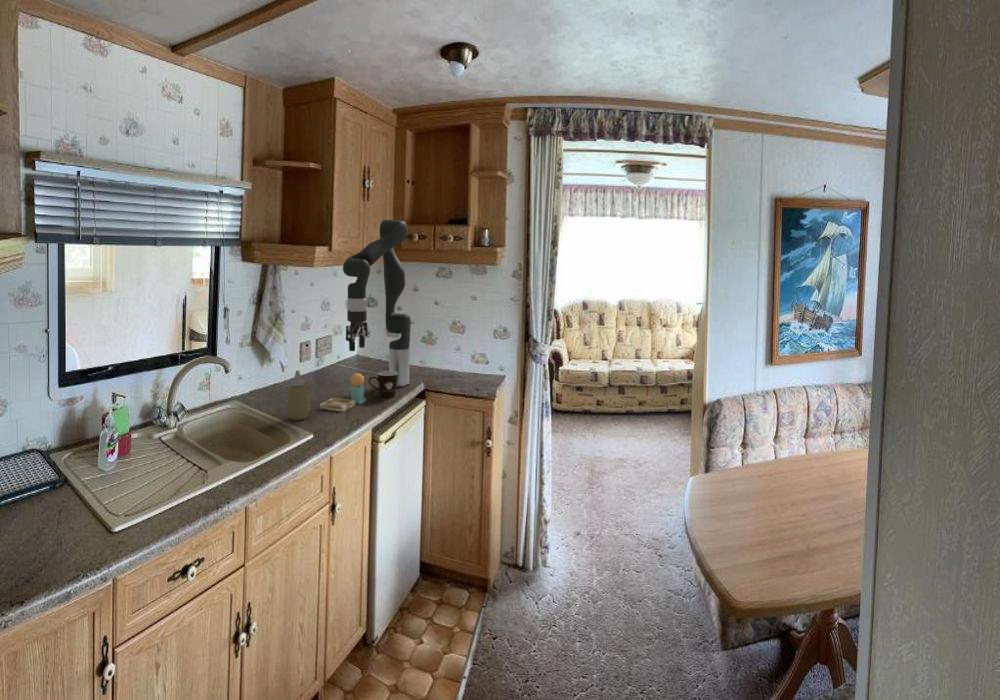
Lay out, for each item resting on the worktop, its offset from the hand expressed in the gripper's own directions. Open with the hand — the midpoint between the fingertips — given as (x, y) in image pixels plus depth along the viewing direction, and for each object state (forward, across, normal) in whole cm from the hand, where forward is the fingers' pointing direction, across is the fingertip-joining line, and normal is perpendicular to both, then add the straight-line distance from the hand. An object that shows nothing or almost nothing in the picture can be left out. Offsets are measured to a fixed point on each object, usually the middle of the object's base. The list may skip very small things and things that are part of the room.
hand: (357, 349), depth 231 cm
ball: (+13, 0, 0) cm, 13 cm away
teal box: (+22, 0, 0) cm, 22 cm away
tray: (+22, +9, -4) cm, 24 cm away
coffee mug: (+22, -13, +6) cm, 27 cm away
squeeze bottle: (+23, +27, -10) cm, 36 cm away
